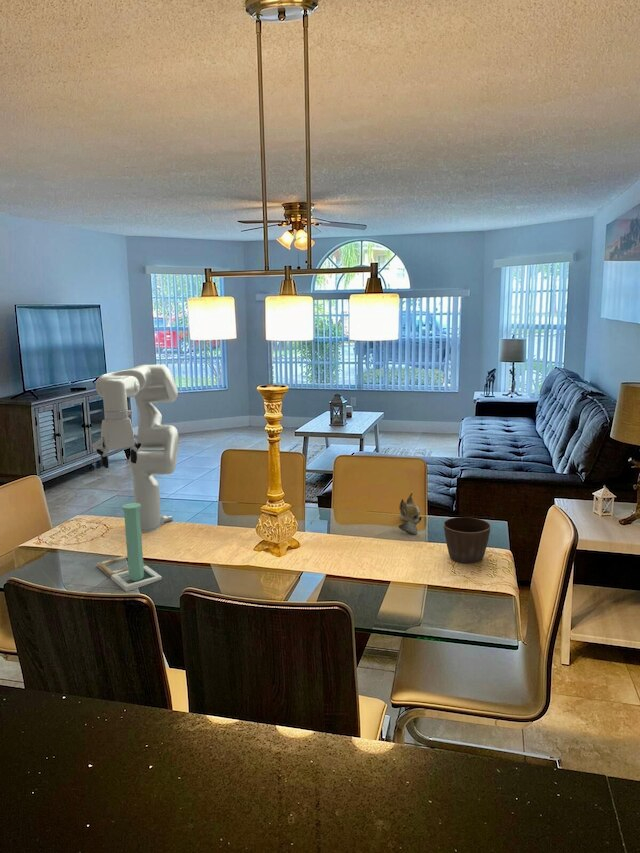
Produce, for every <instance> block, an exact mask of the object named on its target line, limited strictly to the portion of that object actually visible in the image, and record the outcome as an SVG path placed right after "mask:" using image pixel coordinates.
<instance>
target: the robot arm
mask: <svg viewBox="0 0 640 853" xmlns="http://www.w3.org/2000/svg"><path fill="white" fill-rule="evenodd" d="M95 390H96V393H97V395H98V396H99V397H101V398H103V399H102V401H103V410H104V411H103V413H104V419H102V421H101V427H100V428H101V429H100V438H99V439H98V440H96V441H95V442H93V443H92V444H91V447H92V448H93V450H94V451H95V452H96V453H97V454H98V455H99V456H100V457H101V458H100V459H101V466H102V467H103V468H105V469H108V468H109V457H108V453H109V452H110V451H115V450H122V449H128V448H129V449H130V452H129V454H130V455H129V459H128V462H129V468H130V472H131V477H132V484H133V485H132V486H133V496H134V497H133V498H134V503H140V505H141V508H140V522H141V534H142V533H151V532H156V531H158V530H159V529H160V527H161V526H163V525H165V523H166V522H171V521H173V520H174V517H173V515H162V514H161V513H162V512H161V498H160V484H159V482H158V480H157V478H156V477H155V476H154V475H159V476H160V475H161V476H162V475H164V476H165V475H171V474H173V473H174V472H175V470H176V467H177V460H178V459H177V458H178V450H179V441H180V439H179V438H180V436H179V431H178V429H177V427H176V426H175V425H170V424H162V422H163V421H162V420H163V416H162V413H161V412H160V411H159V409H158V408H157V407H156V406H155V405H154V403H157V404H159V403H162V404H163V403H167V404H168V403H173V402H176V400H177V399H178V394H179V391H178V386H177V384H176V381H175V379H174V376H173V373H172V372H171V370H170V368H169V367H167V366H166V364H139V365H136V366H134V367H131V368H129V369H124V370H119V371H113V372H107V373H105V374H101V375H100V376H99V377H98V378H97V380H96V382H95ZM133 397H134V400H135V403H136V407H137V409H138V413H139V422H138V429H137V434H134V428H133V424H132V420H131V418H130V415H132V413H133V411H132V410H129V408H128V398H133ZM135 440H136V443H135ZM100 445H101V448H102V449H100V448H99V447H100Z"/></svg>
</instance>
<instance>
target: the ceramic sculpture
mask: <svg viewBox="0 0 640 853" xmlns="http://www.w3.org/2000/svg"><path fill="white" fill-rule="evenodd" d="M398 509H399V513H400V514H399V515H400V519H401V520H402V521H404V523H401V524H399V526H398V528H399V529H400V530H402V531H404V532H406V533H407V534H410V535H415V536H417V535H418V526H417V525H418V524H420V522H421V521H422V519H423V518H422V516H420V513H421V512H420V508H419V507H418V506H417V505H416V504H415V503H414V500H413V492H410V494H409V495H408V497H407V499H406V502H405V501H404V499H403V498H402V499H401V501H400V503H399V507H398Z"/></svg>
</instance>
